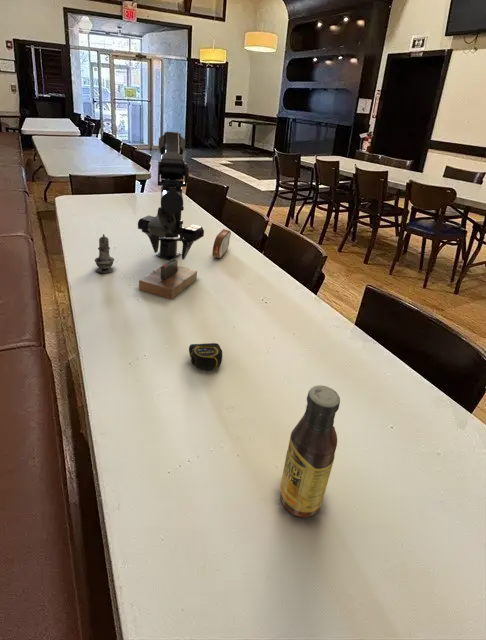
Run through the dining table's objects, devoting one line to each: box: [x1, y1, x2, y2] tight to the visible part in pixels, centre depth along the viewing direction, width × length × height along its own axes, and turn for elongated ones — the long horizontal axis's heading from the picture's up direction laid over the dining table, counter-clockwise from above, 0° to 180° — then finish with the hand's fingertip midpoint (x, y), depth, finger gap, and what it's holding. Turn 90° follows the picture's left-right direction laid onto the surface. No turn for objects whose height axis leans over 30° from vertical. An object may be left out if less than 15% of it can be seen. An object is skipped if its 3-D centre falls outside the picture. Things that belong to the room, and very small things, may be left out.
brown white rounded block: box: [211, 228, 232, 259], centre depth 149 cm, size 15×3×8 cm, turn 164°
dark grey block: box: [160, 258, 179, 280], centre depth 122 cm, size 7×2×4 cm, turn 157°
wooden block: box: [138, 265, 198, 300], centre depth 123 cm, size 15×11×3 cm
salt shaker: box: [94, 233, 115, 275], centre depth 127 cm, size 6×6×12 cm
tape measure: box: [188, 342, 223, 371], centre depth 88 cm, size 7×7×4 cm
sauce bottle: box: [279, 384, 341, 518], centre depth 57 cm, size 6×6×20 cm
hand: (169, 255), depth 120 cm, fingers open, 9 cm apart
